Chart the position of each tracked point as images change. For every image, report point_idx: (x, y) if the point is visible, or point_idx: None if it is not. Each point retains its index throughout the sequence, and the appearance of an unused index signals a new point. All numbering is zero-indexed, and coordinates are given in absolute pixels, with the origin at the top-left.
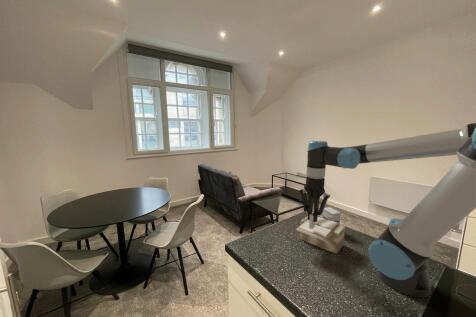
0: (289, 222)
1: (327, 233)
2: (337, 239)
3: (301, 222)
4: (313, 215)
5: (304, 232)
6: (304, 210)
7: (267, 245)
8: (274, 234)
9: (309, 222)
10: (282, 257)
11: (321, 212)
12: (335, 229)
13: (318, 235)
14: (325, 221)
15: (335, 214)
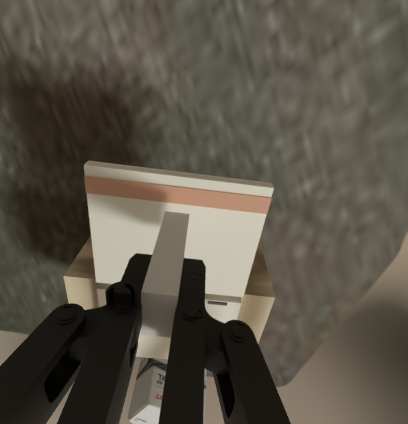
0: (325, 314)
1: (93, 239)
2: (80, 254)
3: (268, 290)
4: (131, 287)
5: (213, 178)
6: (245, 325)
7: (393, 94)
8: (373, 205)
9: (185, 240)
10: (293, 40)
11: (32, 344)
12: (93, 303)
13: (120, 185)
14: (155, 340)
15: (142, 404)
